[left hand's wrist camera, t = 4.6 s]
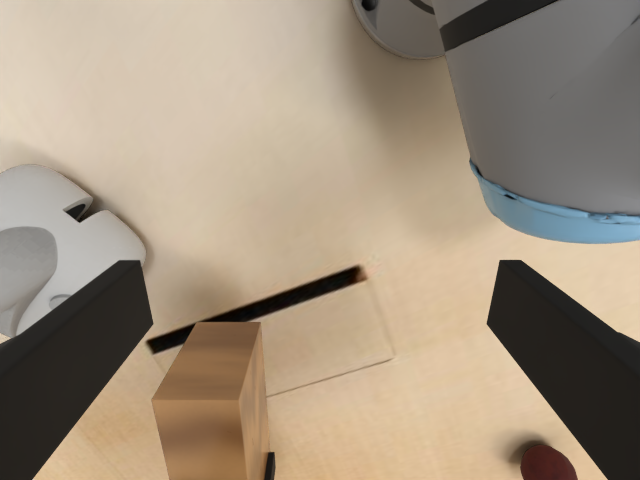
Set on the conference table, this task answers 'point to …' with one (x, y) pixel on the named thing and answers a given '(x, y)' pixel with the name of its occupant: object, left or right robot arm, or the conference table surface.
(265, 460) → the box
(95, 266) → the projector
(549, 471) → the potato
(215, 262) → the conference table surface
